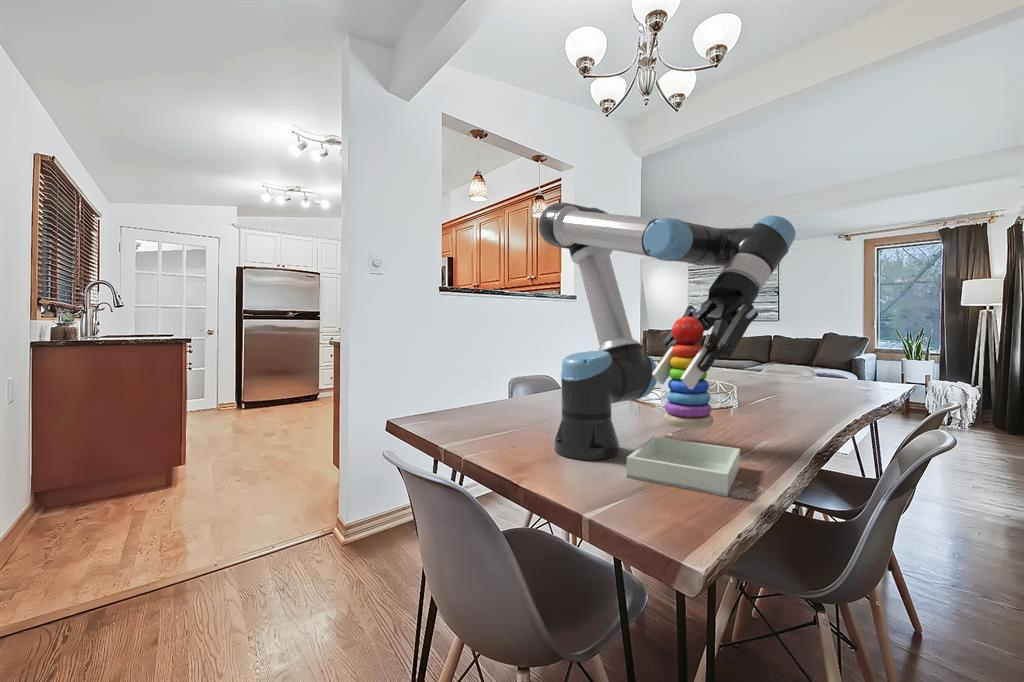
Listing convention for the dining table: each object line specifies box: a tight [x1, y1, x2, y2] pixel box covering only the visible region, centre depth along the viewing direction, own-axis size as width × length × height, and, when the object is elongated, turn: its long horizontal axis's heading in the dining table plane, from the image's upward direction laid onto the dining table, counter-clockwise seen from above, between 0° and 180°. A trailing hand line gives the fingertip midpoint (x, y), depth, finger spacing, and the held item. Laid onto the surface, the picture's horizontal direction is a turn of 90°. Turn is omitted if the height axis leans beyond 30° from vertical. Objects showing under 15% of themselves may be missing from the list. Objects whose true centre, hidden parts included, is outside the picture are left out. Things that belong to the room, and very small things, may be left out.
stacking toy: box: [663, 316, 714, 430], centre depth 74 cm, size 8×8×19 cm
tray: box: [626, 436, 741, 498], centre depth 88 cm, size 18×18×4 cm
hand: (671, 381), depth 73 cm, fingers closed on stacking toy, 6 cm apart
